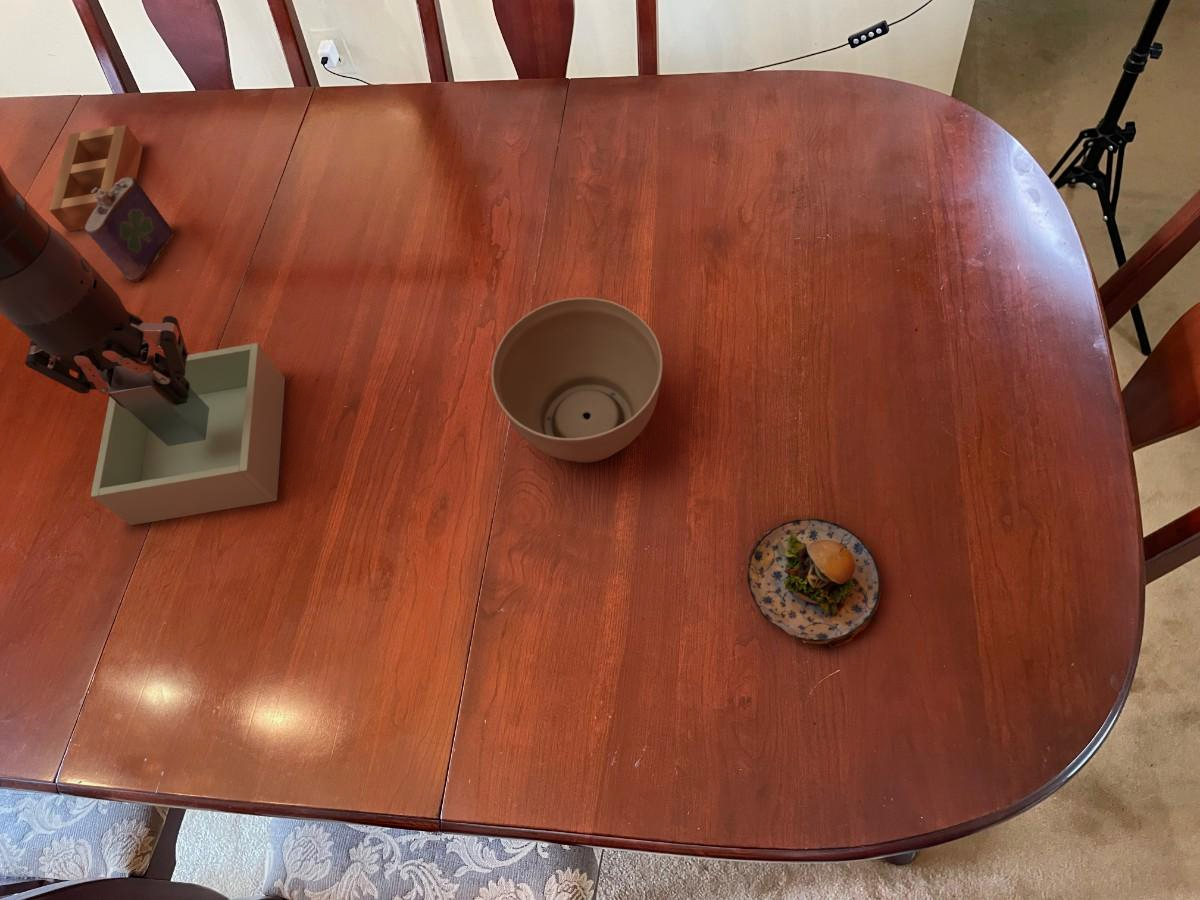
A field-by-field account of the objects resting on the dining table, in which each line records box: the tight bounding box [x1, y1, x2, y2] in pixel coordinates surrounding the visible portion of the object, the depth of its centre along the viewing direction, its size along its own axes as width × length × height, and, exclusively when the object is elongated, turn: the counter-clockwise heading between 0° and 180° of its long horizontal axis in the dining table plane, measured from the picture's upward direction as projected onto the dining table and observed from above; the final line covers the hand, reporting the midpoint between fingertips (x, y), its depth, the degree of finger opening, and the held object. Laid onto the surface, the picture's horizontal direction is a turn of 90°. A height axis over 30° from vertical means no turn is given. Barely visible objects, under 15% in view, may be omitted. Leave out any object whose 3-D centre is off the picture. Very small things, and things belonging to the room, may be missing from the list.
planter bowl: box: [490, 296, 664, 463], centre depth 84 cm, size 16×16×11 cm
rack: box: [48, 123, 144, 233], centre depth 113 cm, size 8×14×4 cm, turn 8°
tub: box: [90, 342, 286, 526], centre depth 89 cm, size 16×16×7 cm
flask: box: [84, 177, 174, 283], centre depth 103 cm, size 9×3×11 cm, turn 163°
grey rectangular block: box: [109, 362, 209, 446], centre depth 84 cm, size 4×4×10 cm
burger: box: [746, 517, 882, 649], centre depth 74 cm, size 12×12×8 cm
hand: (161, 399), depth 83 cm, fingers closed on grey rectangular block, 4 cm apart
